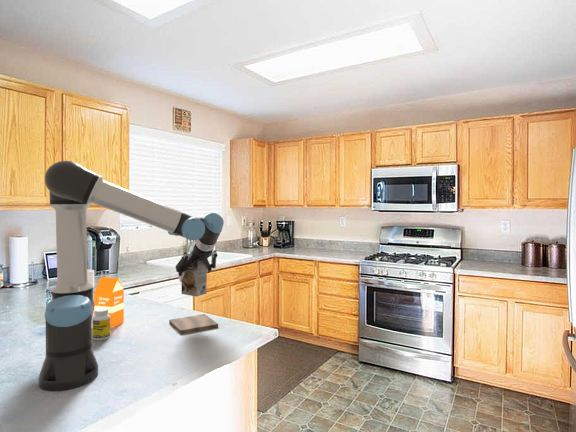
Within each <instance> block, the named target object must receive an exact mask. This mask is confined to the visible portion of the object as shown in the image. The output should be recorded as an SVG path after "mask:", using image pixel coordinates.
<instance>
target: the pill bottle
mask: <svg viewBox="0 0 576 432" xmlns="http://www.w3.org/2000/svg"><path fill="white" fill-rule="evenodd" d="M107 313H108V309H107V308H100V309H96V310H95V316H94V315H93V316H92V340H93V341H105V340H107V339H109V338H110V337H111V327H110V315H109V314H107Z"/></svg>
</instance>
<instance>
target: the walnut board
mask: <svg viewBox="0 0 576 432" xmlns="http://www.w3.org/2000/svg"><path fill="white" fill-rule="evenodd" d="M168 323H169V325H171V326H172V328H174V329H175V331H177V332H178V334H180V335H184V334H190V333H195V332H200V331H206V330H212V329H215V328H219V323H218V322H217V321H215V320H213V319H212V318H211V317H210V316H208V315H207V314H205V313H202V314H197V315H191V316H190V315H189V316H185V317H179V318H173V319H169V321H168Z"/></svg>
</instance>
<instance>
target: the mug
mask: <svg viewBox="0 0 576 432" xmlns="http://www.w3.org/2000/svg"><path fill="white" fill-rule="evenodd" d="M87 273H88V282H89V283H90V284H91V285H93V289H95V270H94V269H87Z"/></svg>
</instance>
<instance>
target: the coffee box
mask: <svg viewBox="0 0 576 432" xmlns="http://www.w3.org/2000/svg"><path fill="white" fill-rule="evenodd" d="M189 258H190V257H189ZM207 279H208V273H207V265H206V263H205V261H197V262H196V263H195V264H192V265H191V266H190V267H188V268H187V269H186V270H185V274H184V277H183V279H182V282H181V295H187V296H189V297H190V296H192V297H195V298H196V297H200V296H203V295H207V293H208V291H207V290H208V288H207V287H208V286H207V285H208V284H207V281H208V280H207Z"/></svg>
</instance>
